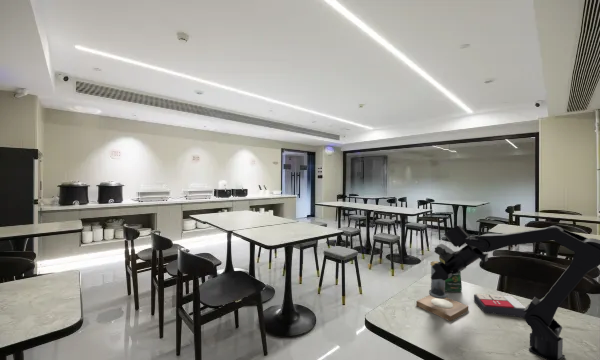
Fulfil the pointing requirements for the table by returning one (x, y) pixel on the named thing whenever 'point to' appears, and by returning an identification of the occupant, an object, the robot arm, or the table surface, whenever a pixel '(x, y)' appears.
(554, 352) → the robot arm
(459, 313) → the stand
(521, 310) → the red and white box
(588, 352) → the table surface
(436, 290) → the housing
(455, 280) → the coffee jar
